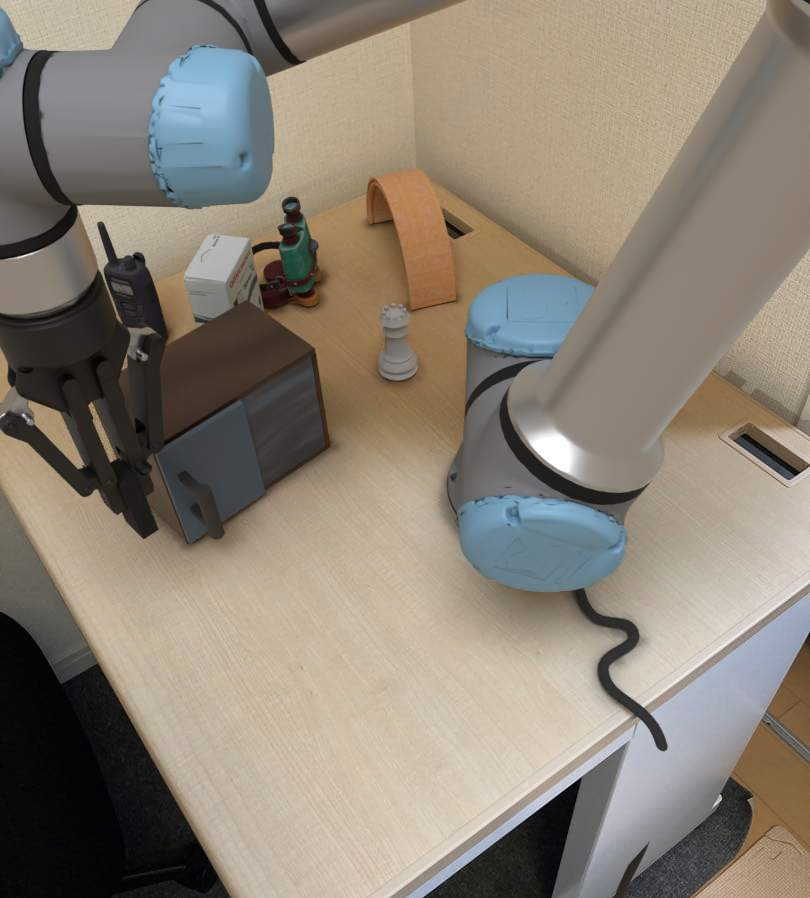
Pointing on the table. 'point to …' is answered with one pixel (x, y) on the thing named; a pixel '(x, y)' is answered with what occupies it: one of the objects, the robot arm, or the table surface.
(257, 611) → the table surface
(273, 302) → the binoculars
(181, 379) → the cabinet
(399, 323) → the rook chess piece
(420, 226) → the orange arch bridge
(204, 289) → the ink box
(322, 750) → the table surface
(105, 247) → the two-way radio
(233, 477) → the sliding door
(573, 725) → the table surface
